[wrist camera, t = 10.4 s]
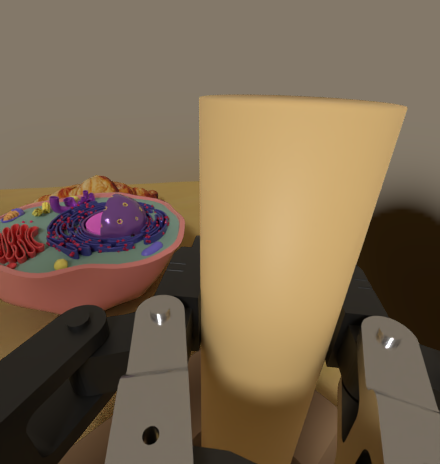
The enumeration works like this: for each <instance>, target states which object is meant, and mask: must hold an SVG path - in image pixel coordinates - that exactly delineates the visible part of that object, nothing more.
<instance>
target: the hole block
mask: <svg viewBox="0 0 440 464" xmlns="http://www.w3.org/2000/svg"><path fill="white" fill-rule="evenodd" d="M188 377H189V395H190V412H191V429H192V446H199V447H201V349H199V351H197V352H195V353H194V354H193V355H192V356H190V357H189V362H188ZM112 418H113V416H111V417H110V418H109V419H107V420H106V421H105V422H103V423H102V424H101V425H99V426H98V427H97V428H95V429H94V430H93V431H92V432H90V433H89V434H88V435H86V436H85V437H84V438H82V439H81V440H80V441H78V442H77V443H76V444H74V445H73V446H72V447H71V448H70V449H69V451H68V452H67V453H66V454H65V456H64V457H63V458H62V459H61V461H60V462H59V463H58V464H105V459H106V453H107V447H108V441H109V435H110V430H111V424H112ZM336 451H337V407H336V406H335V405H333V404H332V403H331V402H330V401H328V400H327V399H326V398H325V397H324V396H322V395H321V394H320V393H319V392H317V391H316V390H315V391H314V394H313V397H312V400H311V403H310V406H309V409H308V412H307V415H306V418H305V421H304V424H303V427H302V430H301V433H300V436H299V439H298V442H297V445H296V448H295V451H294V455H293V458H292V461H291V464H334V462H335V458H336Z"/></svg>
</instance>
